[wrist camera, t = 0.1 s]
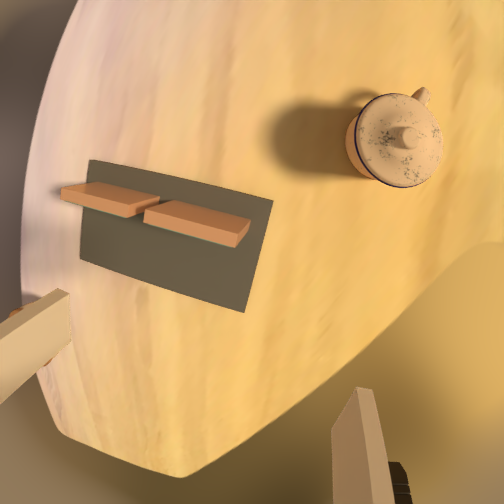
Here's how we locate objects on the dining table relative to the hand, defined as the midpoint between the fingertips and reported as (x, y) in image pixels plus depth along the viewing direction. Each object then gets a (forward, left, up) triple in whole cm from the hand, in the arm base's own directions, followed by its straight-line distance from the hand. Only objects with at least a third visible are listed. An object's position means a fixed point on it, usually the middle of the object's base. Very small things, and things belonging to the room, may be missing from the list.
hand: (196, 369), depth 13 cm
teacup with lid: (-15, +11, -28) cm, 34 cm away
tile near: (0, -7, -27) cm, 28 cm away
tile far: (0, -19, -27) cm, 33 cm away
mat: (+4, -13, -28) cm, 31 cm away
